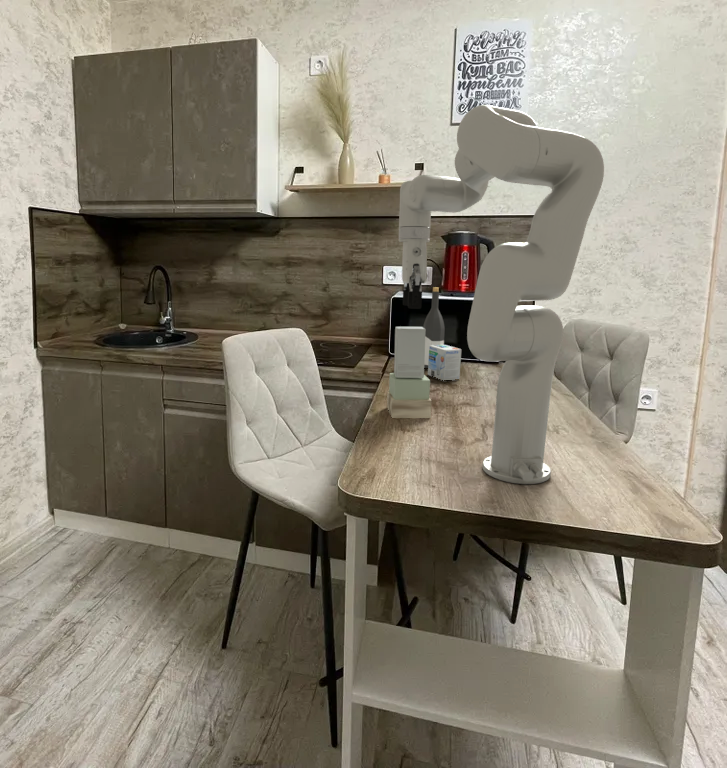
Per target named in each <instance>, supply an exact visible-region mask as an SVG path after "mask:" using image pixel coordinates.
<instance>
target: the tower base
mask: <svg viewBox="0 0 727 768" xmlns="http://www.w3.org/2000/svg"><path fill="white" fill-rule="evenodd" d="M386 398H387V400H386V401H387V403H386V409H387V408H388V409H387V411H388V410H389V411H388V414H389V416H390V415H391V416H390V418H391V417H392V418H431V417H432V416H431V415H432V401H433V400H432V399H431V398H430V397H429V399H419V400H394V398H393V397H392V395H391V393H390V392H389V390H387V397H386ZM392 418H391V419H392Z"/></svg>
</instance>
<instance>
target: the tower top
mask: <svg viewBox="0 0 727 768" xmlns="http://www.w3.org/2000/svg"><path fill="white" fill-rule="evenodd" d="M388 378H389V379H388V381H389V382H388V383H389V385H388V388H389V389H388V391H389V392H390V393H391V395H392V397H393V398H394V400H419V399H429V398H430V392H431V380H430V379H429V377H427V375H425V374H424V378H396V376H395V374H394V372H390V373H389V377H388Z"/></svg>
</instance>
